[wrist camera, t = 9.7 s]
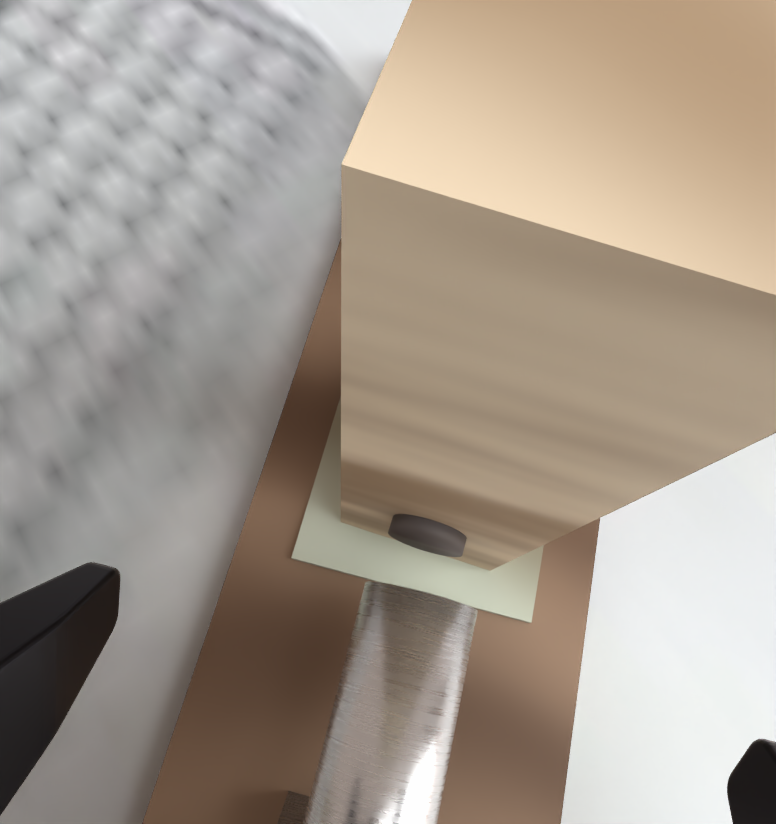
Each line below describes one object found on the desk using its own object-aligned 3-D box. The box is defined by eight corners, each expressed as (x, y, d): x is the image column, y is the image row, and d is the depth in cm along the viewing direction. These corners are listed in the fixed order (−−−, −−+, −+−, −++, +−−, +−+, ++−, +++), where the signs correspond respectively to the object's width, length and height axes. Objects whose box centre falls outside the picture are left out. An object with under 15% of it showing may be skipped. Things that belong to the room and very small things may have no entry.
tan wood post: (486, 584, 17) (952, 399, 4) (335, 536, 17) (322, 207, 4) (527, 417, 19) (938, -79, 6) (390, 374, 19) (498, -200, 6)
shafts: (382, 1092, 14) (406, 1342, 9) (215, 1044, 14) (145, 1266, 9) (565, 144, 23) (624, 13, 18) (467, 120, 23) (500, -17, 19)
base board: (480, 1285, 13) (496, 1359, 12) (40, 1155, 14) (6, 1213, 12) (639, 127, 26) (657, 97, 24) (404, 68, 26) (408, 34, 24)
